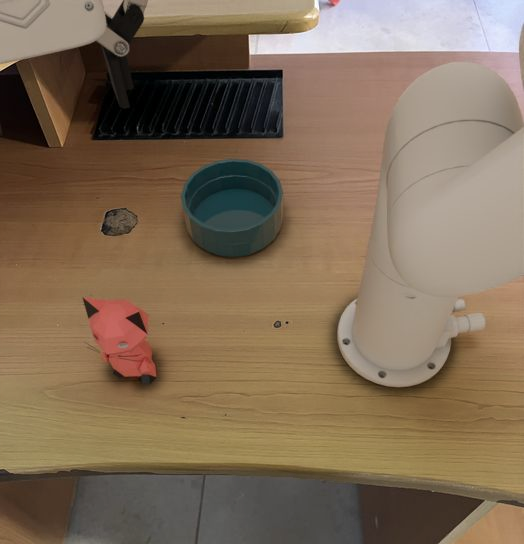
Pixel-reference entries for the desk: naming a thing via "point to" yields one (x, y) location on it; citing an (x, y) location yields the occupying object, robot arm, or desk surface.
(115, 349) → the cat figurine
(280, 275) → the desk surface
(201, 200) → the bowl
